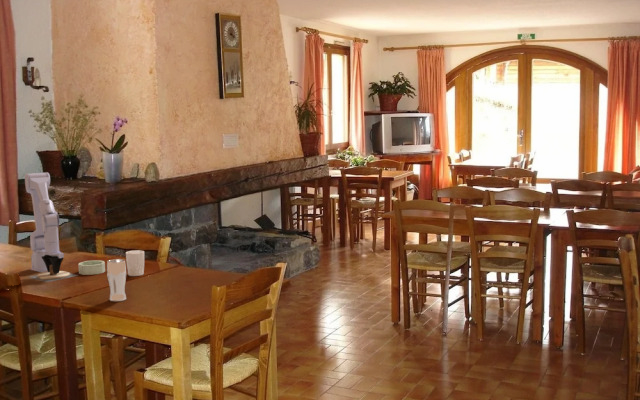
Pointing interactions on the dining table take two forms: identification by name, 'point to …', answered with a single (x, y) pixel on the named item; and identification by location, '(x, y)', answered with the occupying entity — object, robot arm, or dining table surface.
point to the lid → (51, 275)
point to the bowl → (91, 267)
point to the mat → (53, 279)
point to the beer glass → (116, 279)
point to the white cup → (135, 262)
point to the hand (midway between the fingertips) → (53, 272)
